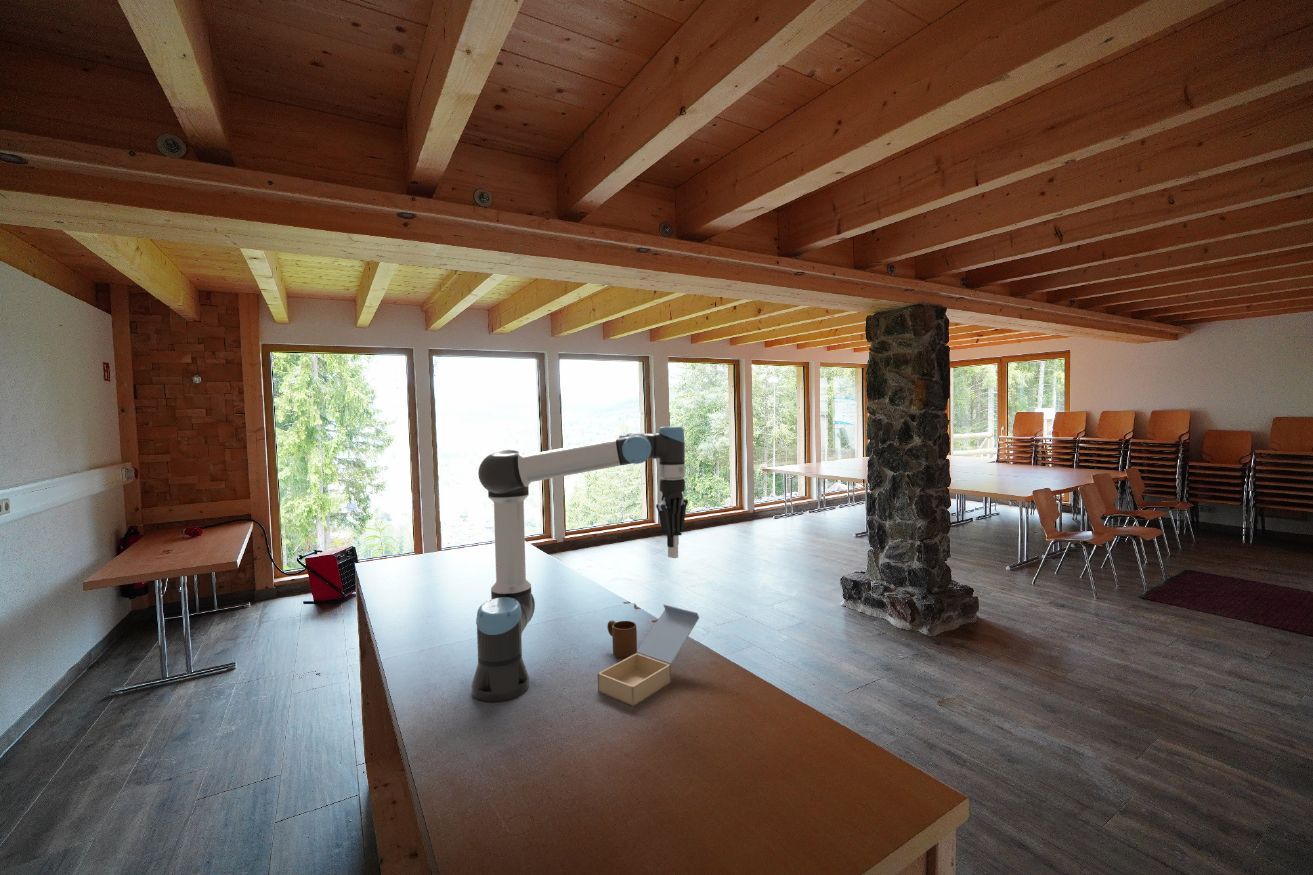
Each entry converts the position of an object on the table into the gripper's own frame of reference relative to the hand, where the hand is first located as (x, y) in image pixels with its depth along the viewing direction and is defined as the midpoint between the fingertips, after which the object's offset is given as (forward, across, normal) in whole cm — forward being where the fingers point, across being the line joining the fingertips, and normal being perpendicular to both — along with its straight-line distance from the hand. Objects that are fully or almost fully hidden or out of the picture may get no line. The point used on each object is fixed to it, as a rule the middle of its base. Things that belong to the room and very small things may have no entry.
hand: (673, 557), depth 164 cm
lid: (+21, -4, 0) cm, 21 cm away
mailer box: (+32, -18, 0) cm, 37 cm away
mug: (+32, -4, +18) cm, 37 cm away
